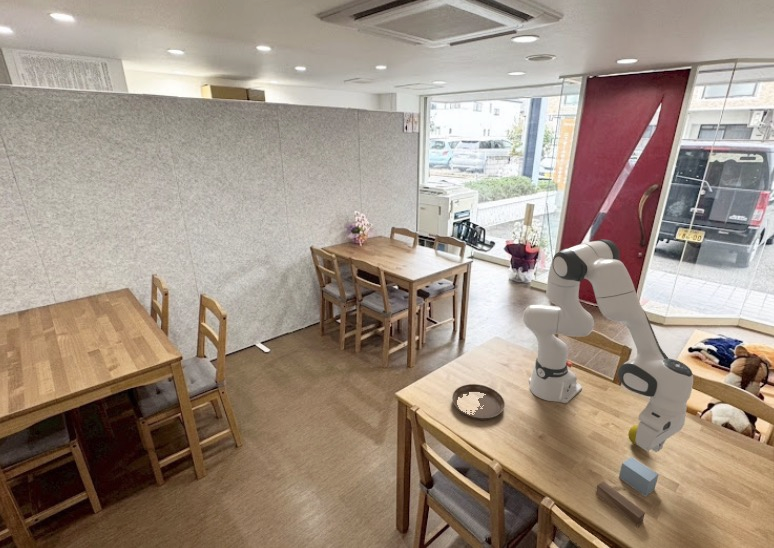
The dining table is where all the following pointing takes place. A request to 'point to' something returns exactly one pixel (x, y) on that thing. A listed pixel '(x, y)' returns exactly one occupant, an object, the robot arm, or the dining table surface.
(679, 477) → the dining table surface
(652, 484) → the block
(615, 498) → the brown rectangular bar
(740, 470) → the dining table surface
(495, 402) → the plant saucer
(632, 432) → the lemon
